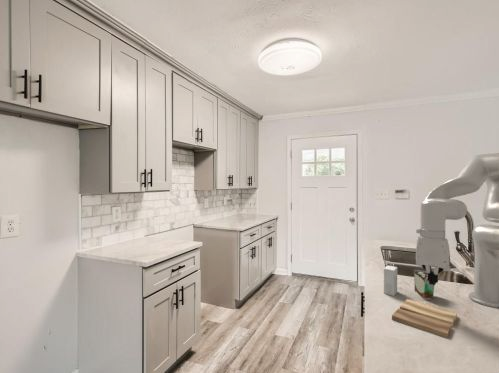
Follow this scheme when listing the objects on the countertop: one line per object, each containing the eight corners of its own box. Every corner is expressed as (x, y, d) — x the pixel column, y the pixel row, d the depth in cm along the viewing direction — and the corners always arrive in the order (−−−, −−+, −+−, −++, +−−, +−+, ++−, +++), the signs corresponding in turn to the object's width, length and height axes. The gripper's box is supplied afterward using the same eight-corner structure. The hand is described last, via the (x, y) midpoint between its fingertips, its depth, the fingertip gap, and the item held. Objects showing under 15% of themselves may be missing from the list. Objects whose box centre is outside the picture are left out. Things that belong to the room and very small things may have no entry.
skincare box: (386, 291, 123) (387, 265, 123) (397, 294, 120) (397, 267, 120) (383, 295, 118) (383, 268, 118) (394, 298, 116) (394, 270, 115)
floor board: (404, 303, 111) (404, 297, 111) (460, 319, 98) (460, 312, 98) (388, 322, 97) (388, 315, 97) (451, 343, 84) (451, 335, 84)
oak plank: (406, 302, 109) (407, 299, 109) (456, 317, 98) (456, 312, 98) (399, 310, 103) (399, 306, 103) (452, 326, 91) (452, 322, 91)
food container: (442, 304, 110) (442, 280, 110) (425, 303, 111) (425, 279, 111) (428, 292, 122) (429, 270, 122) (413, 291, 123) (413, 269, 123)
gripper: (407, 233, 103) (407, 281, 104) (456, 239, 93) (456, 292, 93) (412, 230, 108) (412, 276, 109) (459, 235, 98) (459, 286, 99)
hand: (432, 283), depth 101 cm, fingers closed
